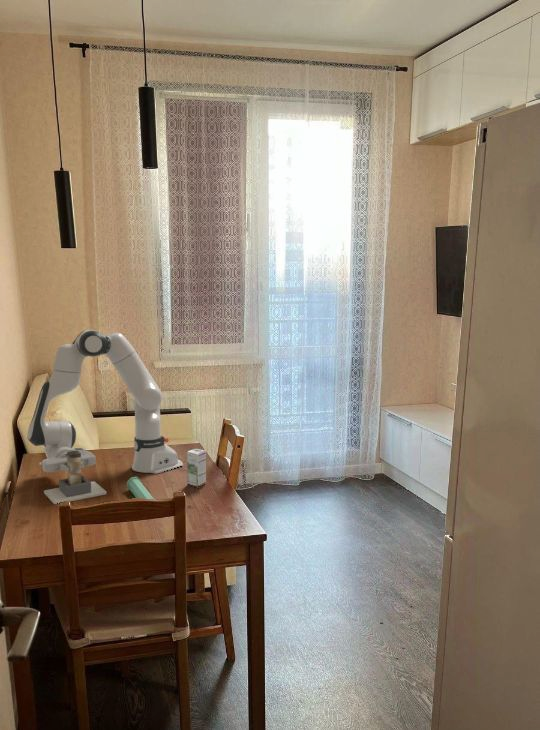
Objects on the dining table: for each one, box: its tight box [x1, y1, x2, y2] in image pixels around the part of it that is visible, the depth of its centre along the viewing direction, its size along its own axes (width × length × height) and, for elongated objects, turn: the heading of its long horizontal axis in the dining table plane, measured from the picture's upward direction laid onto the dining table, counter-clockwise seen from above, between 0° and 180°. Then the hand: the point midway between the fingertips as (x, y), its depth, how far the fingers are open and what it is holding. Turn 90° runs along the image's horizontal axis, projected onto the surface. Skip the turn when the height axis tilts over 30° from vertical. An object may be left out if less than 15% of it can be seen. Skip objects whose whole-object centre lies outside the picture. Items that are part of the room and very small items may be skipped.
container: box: [126, 476, 155, 500], centre depth 229 cm, size 6×6×25 cm
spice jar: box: [67, 450, 82, 486], centre depth 233 cm, size 4×4×14 cm
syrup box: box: [186, 448, 207, 486], centre depth 247 cm, size 6×6×14 cm
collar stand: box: [43, 475, 108, 505], centre depth 234 cm, size 20×14×5 cm
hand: (75, 468), depth 233 cm, fingers closed on spice jar, 4 cm apart
